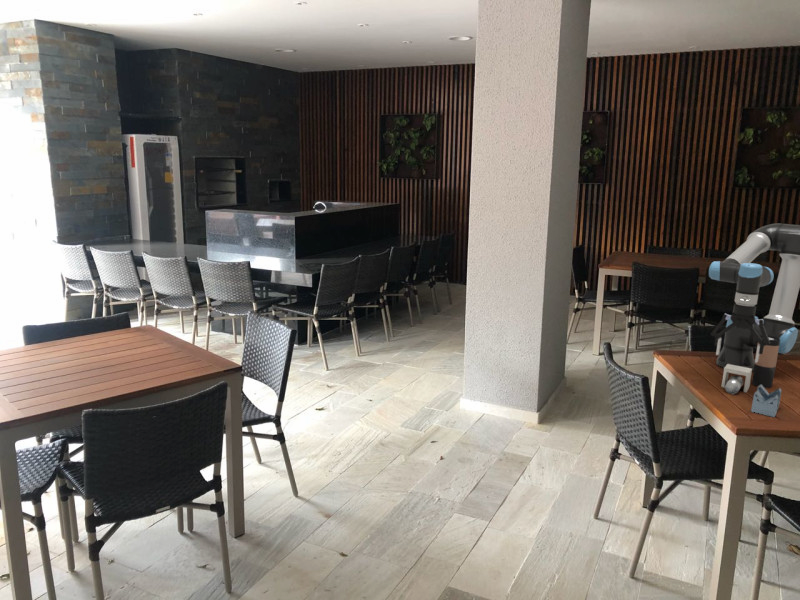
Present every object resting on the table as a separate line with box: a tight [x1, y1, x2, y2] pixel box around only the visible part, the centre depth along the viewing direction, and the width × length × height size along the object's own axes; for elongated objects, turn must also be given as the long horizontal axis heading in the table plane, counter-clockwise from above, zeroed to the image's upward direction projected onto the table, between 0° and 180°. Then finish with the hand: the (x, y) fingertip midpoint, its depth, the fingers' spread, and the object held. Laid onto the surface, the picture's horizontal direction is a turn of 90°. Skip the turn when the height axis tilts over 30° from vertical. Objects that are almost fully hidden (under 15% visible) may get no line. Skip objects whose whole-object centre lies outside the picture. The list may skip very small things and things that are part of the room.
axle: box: [724, 374, 744, 395], centre depth 254 cm, size 10×5×5 cm, turn 144°
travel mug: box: [751, 335, 780, 389], centre depth 260 cm, size 8×8×20 cm
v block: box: [750, 384, 782, 418], centre depth 234 cm, size 12×7×8 cm, turn 144°
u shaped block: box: [721, 364, 753, 393], centre depth 257 cm, size 7×9×8 cm
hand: (736, 358), depth 249 cm, fingers open, 13 cm apart
